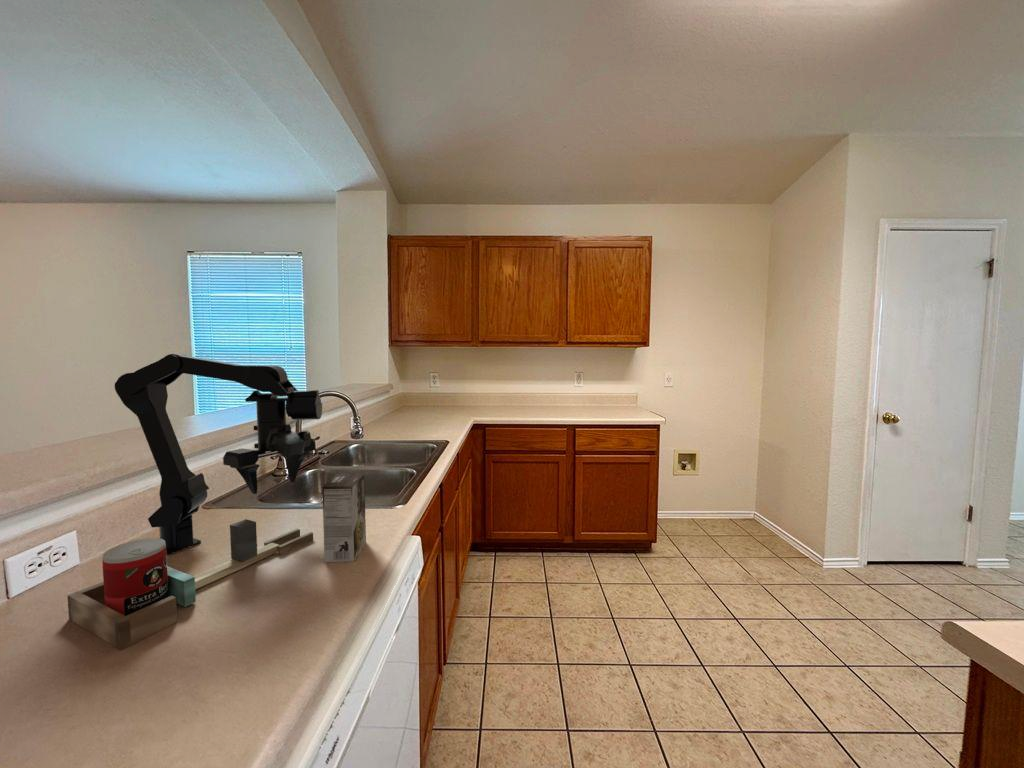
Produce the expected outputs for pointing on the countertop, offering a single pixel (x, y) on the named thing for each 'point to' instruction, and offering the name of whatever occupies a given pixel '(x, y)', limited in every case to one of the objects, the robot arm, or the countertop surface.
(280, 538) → the guide
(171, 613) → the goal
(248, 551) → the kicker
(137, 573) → the canned food
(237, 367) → the robot arm
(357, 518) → the coffee box
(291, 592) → the countertop surface
